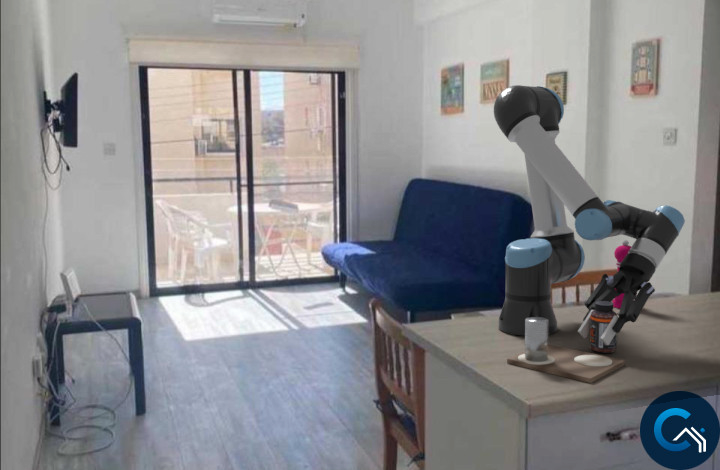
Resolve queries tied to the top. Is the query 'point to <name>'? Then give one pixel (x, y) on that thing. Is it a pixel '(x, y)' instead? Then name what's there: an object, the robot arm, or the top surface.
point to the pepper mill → (619, 255)
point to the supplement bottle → (601, 327)
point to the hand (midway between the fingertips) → (592, 338)
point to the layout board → (571, 364)
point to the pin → (536, 339)
